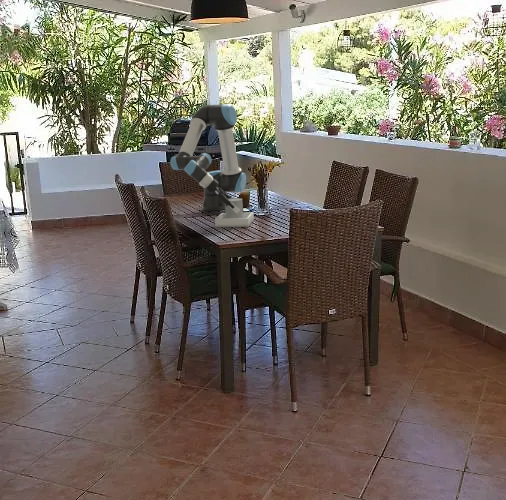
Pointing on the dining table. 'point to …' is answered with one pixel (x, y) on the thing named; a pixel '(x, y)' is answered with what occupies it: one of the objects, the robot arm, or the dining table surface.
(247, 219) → the white square tray
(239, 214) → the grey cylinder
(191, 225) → the dining table surface
